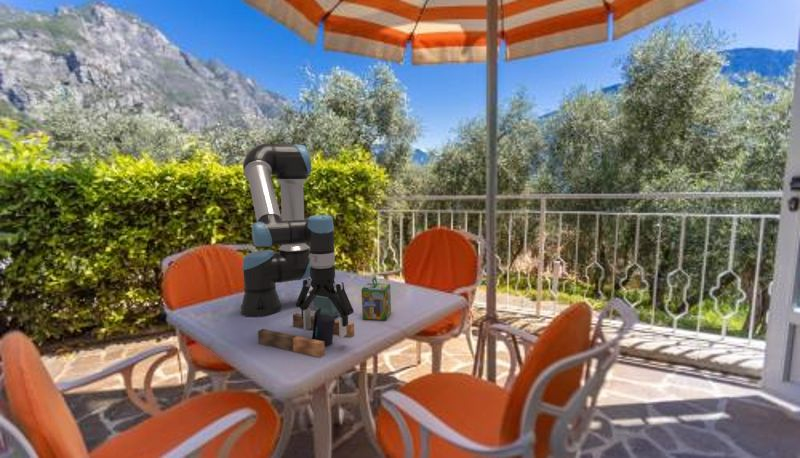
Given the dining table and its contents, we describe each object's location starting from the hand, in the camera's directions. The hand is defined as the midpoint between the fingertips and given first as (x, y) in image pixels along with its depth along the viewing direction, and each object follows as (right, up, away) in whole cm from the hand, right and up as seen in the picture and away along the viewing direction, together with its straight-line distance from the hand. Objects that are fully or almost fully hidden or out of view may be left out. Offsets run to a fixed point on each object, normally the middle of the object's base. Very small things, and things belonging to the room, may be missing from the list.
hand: (324, 332), depth 122 cm
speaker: (0, -4, +1) cm, 4 cm away
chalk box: (+15, 0, +24) cm, 28 cm away
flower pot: (-3, -1, +24) cm, 24 cm away
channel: (-6, -3, +3) cm, 8 cm away
